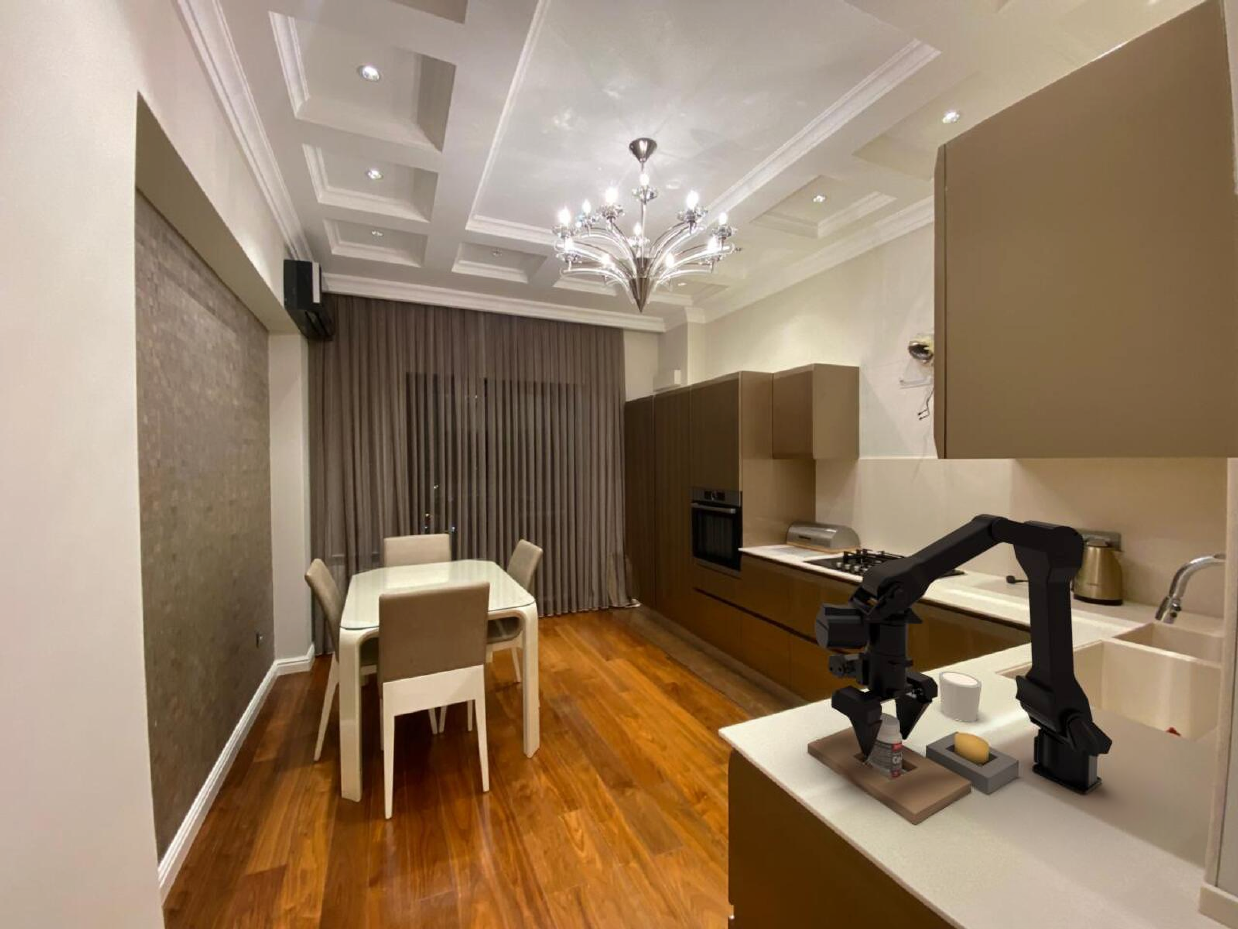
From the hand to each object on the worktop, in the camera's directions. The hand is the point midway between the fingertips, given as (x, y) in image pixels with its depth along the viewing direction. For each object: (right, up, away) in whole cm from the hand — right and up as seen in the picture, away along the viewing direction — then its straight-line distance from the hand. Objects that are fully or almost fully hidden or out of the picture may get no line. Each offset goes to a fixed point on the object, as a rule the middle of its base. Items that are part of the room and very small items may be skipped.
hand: (884, 746), depth 77 cm
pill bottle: (0, -4, 0) cm, 4 cm away
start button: (+14, -2, +1) cm, 14 cm away
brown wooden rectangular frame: (0, -4, 0) cm, 4 cm away
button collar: (+14, -4, +1) cm, 15 cm away
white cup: (+24, -4, +17) cm, 30 cm away
